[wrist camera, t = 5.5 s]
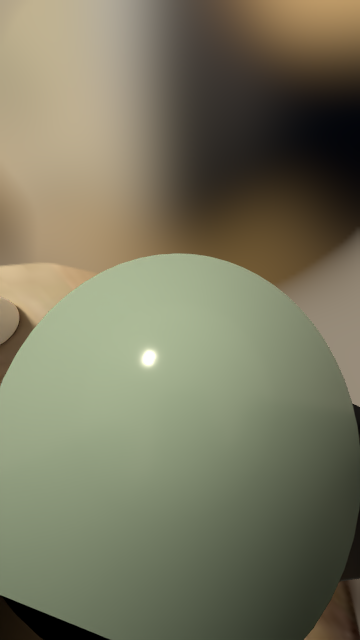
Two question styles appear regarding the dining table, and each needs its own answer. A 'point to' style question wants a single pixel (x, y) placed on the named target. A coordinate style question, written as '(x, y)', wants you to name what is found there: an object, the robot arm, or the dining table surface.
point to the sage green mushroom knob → (175, 460)
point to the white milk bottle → (7, 319)
